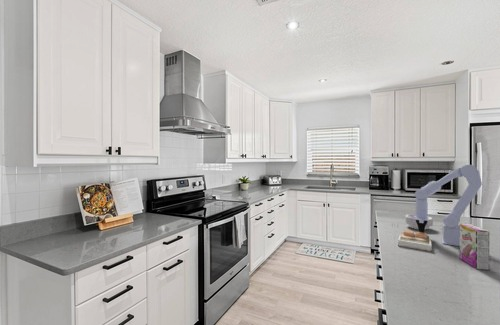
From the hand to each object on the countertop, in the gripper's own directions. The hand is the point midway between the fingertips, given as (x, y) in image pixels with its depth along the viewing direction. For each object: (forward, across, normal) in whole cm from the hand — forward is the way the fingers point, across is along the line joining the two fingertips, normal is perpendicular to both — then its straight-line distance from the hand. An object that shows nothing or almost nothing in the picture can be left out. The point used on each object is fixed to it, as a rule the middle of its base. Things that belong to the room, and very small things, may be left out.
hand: (421, 232), depth 142 cm
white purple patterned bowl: (+3, -25, -2) cm, 25 cm away
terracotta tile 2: (+1, +6, -6) cm, 8 cm away
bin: (+3, +18, -3) cm, 19 cm away
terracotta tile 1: (+1, +6, 0) cm, 6 cm away
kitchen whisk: (+3, -33, +18) cm, 38 cm away
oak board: (+3, +7, -3) cm, 8 cm away
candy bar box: (+3, +32, +19) cm, 37 cm away
